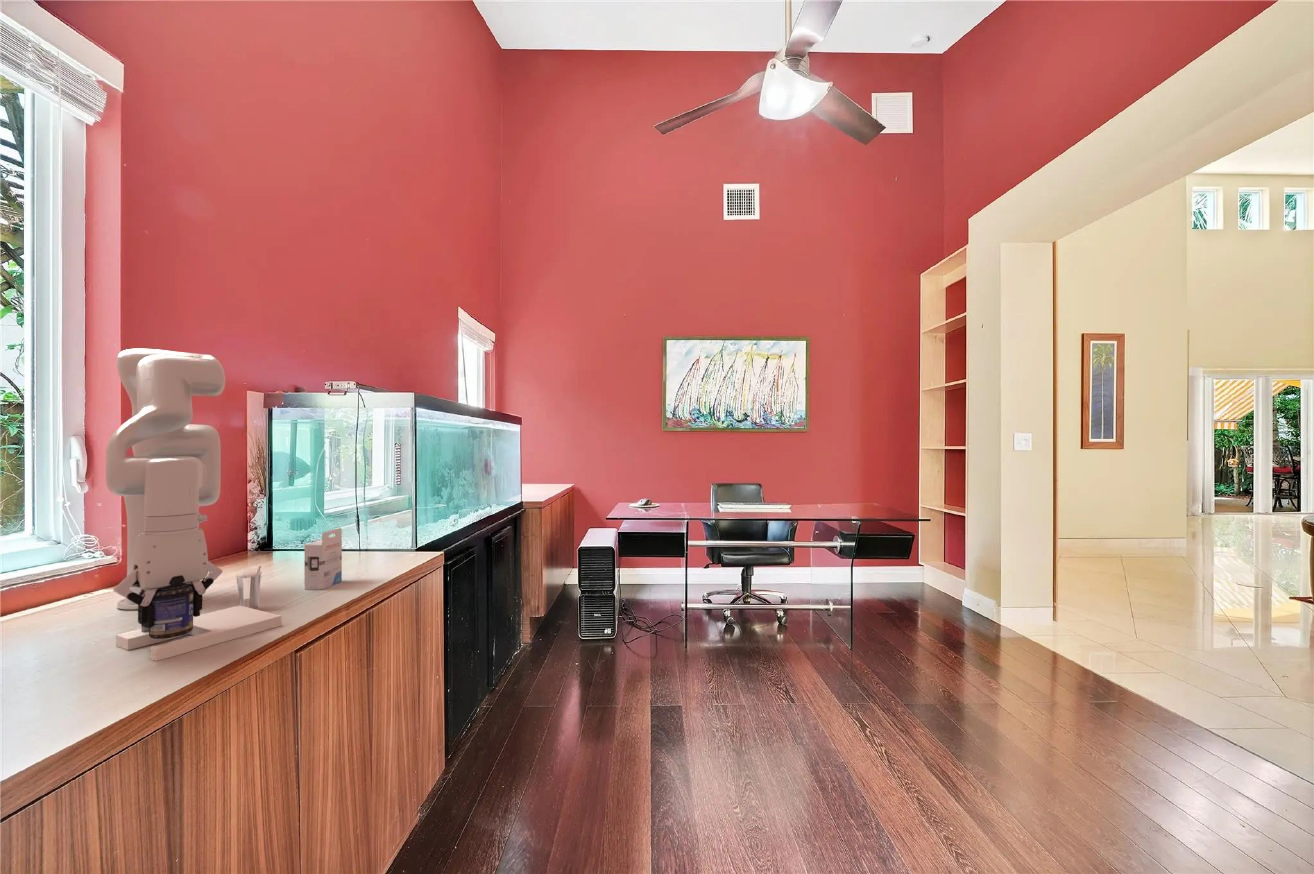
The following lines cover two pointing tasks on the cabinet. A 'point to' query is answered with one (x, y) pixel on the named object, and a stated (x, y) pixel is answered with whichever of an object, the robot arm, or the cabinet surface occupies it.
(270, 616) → the forked stand with post
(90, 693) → the cabinet surface
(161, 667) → the cabinet surface
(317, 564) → the ink box
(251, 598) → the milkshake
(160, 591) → the pill bottle
